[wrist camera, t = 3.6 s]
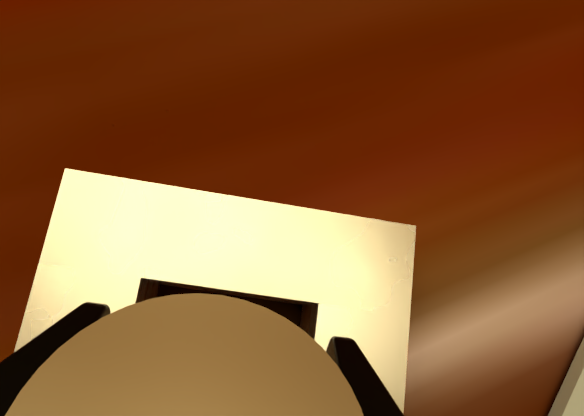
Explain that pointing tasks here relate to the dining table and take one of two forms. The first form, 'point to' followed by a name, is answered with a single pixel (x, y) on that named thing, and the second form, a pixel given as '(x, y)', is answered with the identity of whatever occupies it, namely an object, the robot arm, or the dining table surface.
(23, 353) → the robot arm
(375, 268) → the collar
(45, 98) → the dining table surface
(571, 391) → the pad
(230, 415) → the post
